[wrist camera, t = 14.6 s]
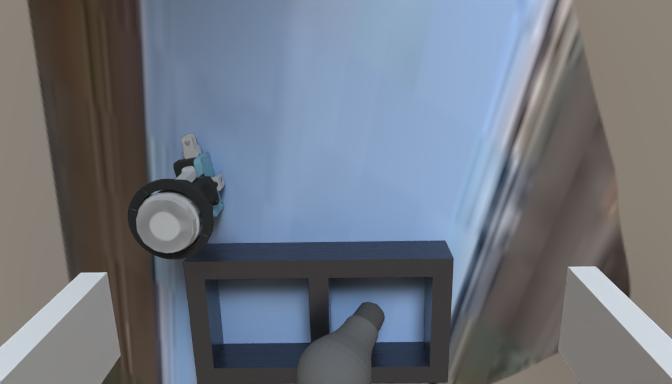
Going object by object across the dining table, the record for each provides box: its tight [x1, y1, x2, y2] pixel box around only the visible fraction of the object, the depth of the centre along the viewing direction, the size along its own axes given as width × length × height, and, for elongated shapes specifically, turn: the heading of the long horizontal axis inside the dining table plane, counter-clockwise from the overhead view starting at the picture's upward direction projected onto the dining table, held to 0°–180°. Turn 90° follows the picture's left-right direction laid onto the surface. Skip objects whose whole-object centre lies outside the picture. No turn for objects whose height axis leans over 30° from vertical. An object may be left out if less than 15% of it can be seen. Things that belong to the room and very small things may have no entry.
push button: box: [128, 133, 225, 259], centre depth 37 cm, size 7×5×10 cm
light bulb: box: [297, 302, 385, 384], centre depth 41 cm, size 6×6×10 cm
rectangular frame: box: [183, 241, 454, 384], centre depth 43 cm, size 11×20×4 cm, turn 91°
